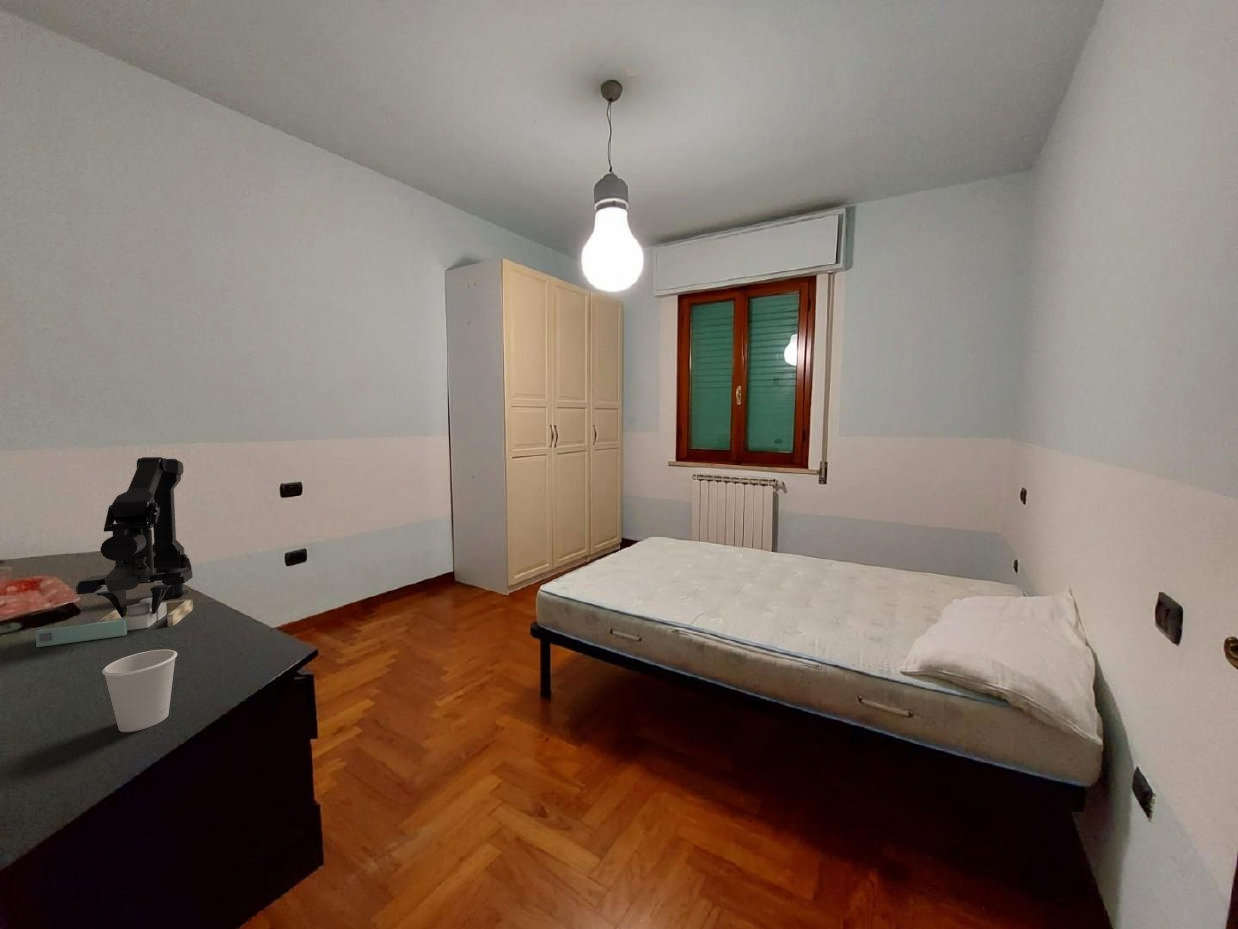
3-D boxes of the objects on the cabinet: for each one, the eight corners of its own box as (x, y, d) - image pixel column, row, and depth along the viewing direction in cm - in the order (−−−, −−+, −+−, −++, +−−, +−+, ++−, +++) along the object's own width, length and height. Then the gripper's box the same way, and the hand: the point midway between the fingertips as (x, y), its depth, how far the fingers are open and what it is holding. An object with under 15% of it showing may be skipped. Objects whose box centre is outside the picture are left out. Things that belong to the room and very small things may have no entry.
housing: (120, 618, 116) (120, 607, 116) (193, 610, 122) (192, 599, 122) (92, 637, 105) (91, 624, 105) (173, 626, 111) (172, 614, 111)
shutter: (39, 645, 100) (38, 629, 100) (127, 633, 107) (126, 619, 106) (35, 647, 99) (34, 632, 99) (124, 636, 105) (123, 621, 105)
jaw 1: (121, 631, 108) (120, 610, 107) (131, 623, 112) (130, 603, 112) (147, 627, 110) (146, 607, 109) (156, 620, 114) (155, 601, 114)
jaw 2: (143, 617, 117) (142, 597, 117) (166, 614, 119) (165, 595, 119) (134, 623, 113) (133, 603, 113) (158, 620, 115) (157, 600, 115)
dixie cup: (193, 705, 79) (191, 648, 78) (145, 737, 70) (141, 673, 70) (143, 706, 78) (140, 649, 78) (88, 738, 70) (84, 674, 70)
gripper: (57, 564, 99) (62, 635, 99) (172, 555, 107) (175, 621, 108) (89, 552, 109) (92, 617, 109) (191, 544, 117) (194, 605, 118)
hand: (139, 615), depth 111 cm, fingers open, 5 cm apart
